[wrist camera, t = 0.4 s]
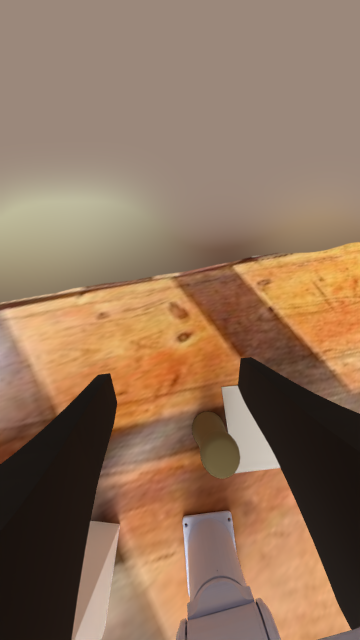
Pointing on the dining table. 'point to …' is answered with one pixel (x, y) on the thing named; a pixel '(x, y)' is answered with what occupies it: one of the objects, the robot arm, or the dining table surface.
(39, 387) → the dining table surface
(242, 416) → the mat
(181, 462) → the dining table surface
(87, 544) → the milk
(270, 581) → the dining table surface
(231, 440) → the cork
